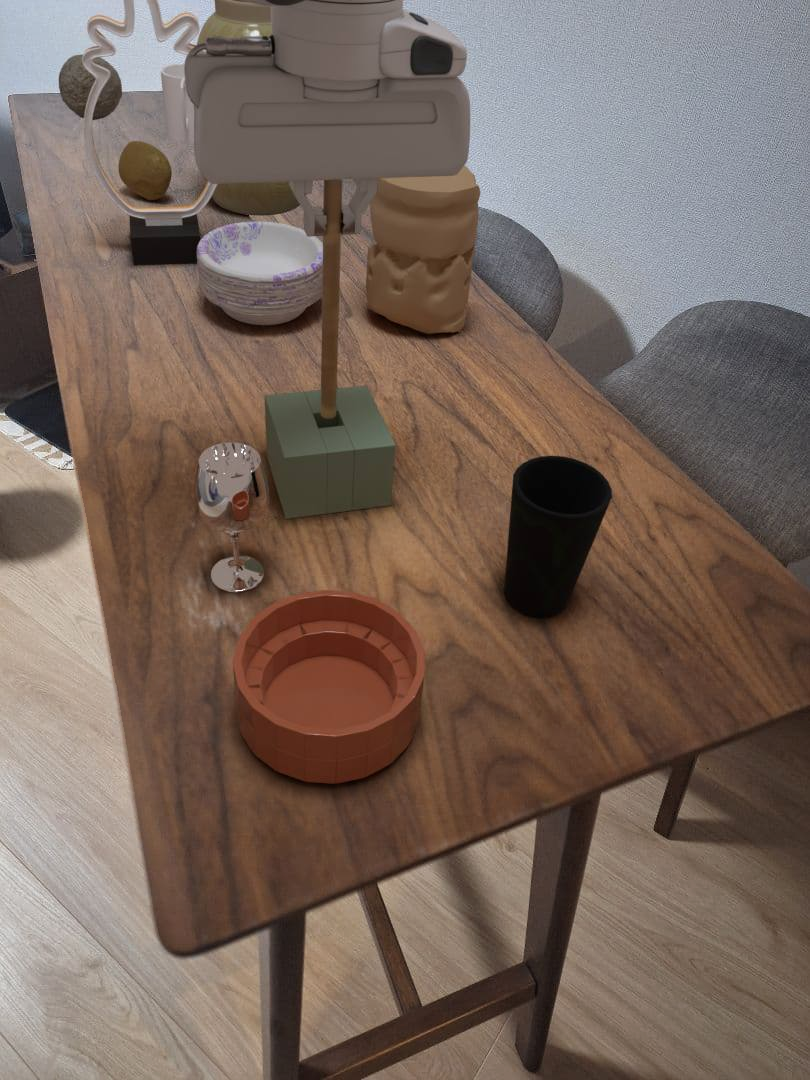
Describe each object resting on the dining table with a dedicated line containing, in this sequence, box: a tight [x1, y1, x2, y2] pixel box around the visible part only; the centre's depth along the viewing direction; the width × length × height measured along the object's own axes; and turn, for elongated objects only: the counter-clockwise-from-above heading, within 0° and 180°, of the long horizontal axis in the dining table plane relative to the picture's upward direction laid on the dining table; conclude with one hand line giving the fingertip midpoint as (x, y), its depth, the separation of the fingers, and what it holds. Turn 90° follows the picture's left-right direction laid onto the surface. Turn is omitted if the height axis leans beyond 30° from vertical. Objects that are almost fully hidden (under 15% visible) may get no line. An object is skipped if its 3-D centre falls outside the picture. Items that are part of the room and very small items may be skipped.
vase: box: [194, 0, 308, 217], centre depth 129 cm, size 17×17×27 cm
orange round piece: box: [232, 589, 426, 784], centre depth 65 cm, size 13×13×6 cm
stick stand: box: [264, 385, 397, 520], centre depth 86 cm, size 10×10×7 cm
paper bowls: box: [196, 221, 323, 326], centre depth 110 cm, size 15×15×8 cm
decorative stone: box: [58, 54, 123, 121], centre depth 155 cm, size 10×8×10 cm
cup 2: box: [503, 455, 613, 619], centre depth 74 cm, size 8×8×12 cm
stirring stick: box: [320, 180, 343, 419], centre depth 76 cm, size 1×1×22 cm
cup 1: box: [160, 63, 194, 144], centre depth 152 cm, size 8×12×10 cm
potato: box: [117, 140, 173, 201], centre depth 132 cm, size 7×8×8 cm
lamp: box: [82, 0, 217, 266], centre depth 112 cm, size 17×9×32 cm, turn 103°
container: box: [365, 164, 481, 335], centre depth 108 cm, size 13×13×18 cm
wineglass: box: [193, 441, 270, 593], centre depth 73 cm, size 6×6×12 cm
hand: (332, 232), depth 72 cm, fingers closed on stirring stick, 1 cm apart
